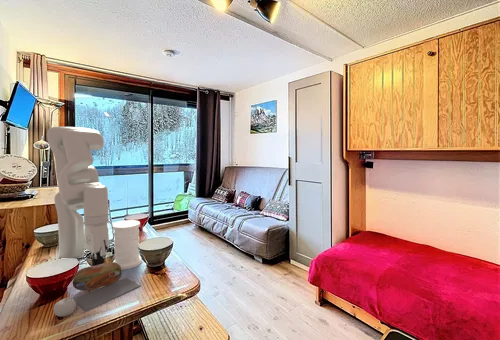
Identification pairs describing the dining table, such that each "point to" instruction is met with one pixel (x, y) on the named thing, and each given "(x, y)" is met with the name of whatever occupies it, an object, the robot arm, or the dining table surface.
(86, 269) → the tin
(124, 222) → the decorative container
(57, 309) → the garlic
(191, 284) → the dining table surface
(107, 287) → the mat
